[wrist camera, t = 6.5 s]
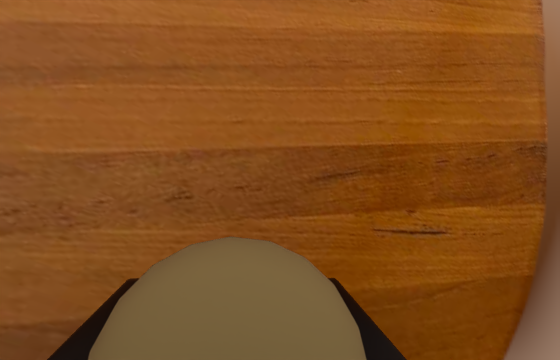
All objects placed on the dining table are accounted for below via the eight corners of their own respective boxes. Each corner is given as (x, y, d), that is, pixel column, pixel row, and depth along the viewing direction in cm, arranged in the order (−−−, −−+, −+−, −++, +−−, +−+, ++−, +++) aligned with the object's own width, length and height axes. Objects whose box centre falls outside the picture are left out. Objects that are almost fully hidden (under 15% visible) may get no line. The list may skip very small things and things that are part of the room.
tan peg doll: (246, 218, 16) (265, 136, 6) (323, 317, 16) (504, 428, 5) (140, 300, 15) (-96, 390, 4) (220, 414, 14) (176, 857, 4)
